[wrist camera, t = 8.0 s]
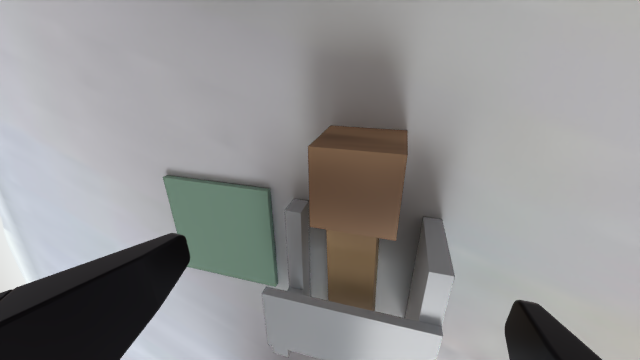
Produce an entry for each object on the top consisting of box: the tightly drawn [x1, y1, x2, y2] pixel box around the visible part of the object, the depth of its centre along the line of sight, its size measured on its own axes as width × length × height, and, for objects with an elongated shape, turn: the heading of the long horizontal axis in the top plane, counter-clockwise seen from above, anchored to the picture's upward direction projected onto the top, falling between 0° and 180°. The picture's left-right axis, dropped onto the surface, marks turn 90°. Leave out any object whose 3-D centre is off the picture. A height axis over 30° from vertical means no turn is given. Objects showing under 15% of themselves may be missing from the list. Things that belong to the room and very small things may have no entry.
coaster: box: [163, 175, 278, 287], centre depth 20 cm, size 8×8×1 cm
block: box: [308, 126, 408, 241], centre depth 14 cm, size 4×4×4 cm
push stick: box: [326, 230, 379, 311], centre depth 18 cm, size 14×3×3 cm, turn 2°
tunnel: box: [262, 199, 455, 360], centre depth 16 cm, size 8×9×5 cm
